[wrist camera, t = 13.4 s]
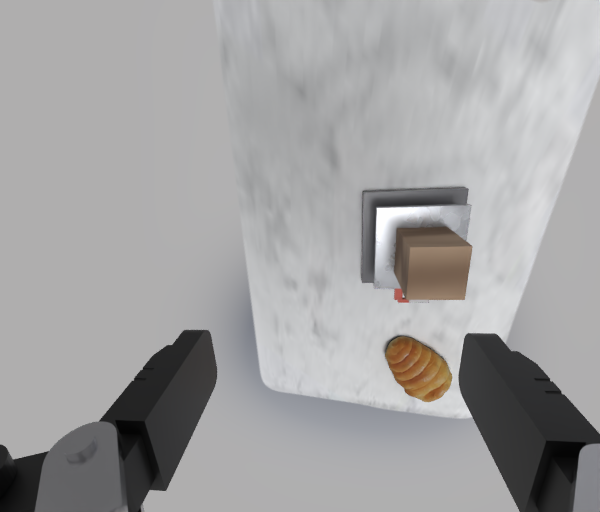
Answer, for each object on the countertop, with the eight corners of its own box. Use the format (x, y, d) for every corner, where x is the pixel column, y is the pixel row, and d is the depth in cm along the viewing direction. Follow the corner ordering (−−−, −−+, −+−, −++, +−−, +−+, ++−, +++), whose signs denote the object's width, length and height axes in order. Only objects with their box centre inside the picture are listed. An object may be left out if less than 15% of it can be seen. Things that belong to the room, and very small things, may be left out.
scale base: (363, 191, 36) (368, 201, 30) (464, 187, 34) (490, 197, 29) (361, 280, 39) (366, 303, 34) (453, 279, 38) (473, 303, 33)
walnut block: (396, 228, 32) (410, 247, 26) (447, 226, 32) (472, 246, 26) (394, 272, 34) (406, 299, 28) (442, 272, 33) (464, 299, 28)
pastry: (371, 350, 43) (374, 369, 40) (411, 323, 41) (418, 340, 38) (413, 391, 45) (420, 413, 42) (453, 367, 43) (464, 388, 40)
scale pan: (374, 204, 33) (377, 208, 32) (463, 201, 32) (471, 205, 31) (372, 295, 37) (373, 303, 35) (451, 295, 36) (457, 303, 34)
